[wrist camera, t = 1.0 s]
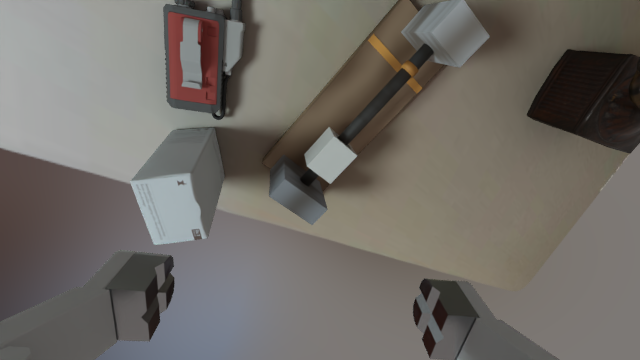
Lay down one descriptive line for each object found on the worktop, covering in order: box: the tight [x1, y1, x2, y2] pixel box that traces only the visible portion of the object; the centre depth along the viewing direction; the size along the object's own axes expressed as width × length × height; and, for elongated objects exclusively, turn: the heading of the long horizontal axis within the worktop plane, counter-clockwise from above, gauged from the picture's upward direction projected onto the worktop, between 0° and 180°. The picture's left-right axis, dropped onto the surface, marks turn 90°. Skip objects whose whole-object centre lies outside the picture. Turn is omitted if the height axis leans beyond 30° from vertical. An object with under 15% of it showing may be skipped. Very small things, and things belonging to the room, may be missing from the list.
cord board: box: [262, 0, 490, 225], centre depth 38 cm, size 10×29×10 cm, turn 138°
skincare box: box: [130, 128, 225, 245], centre depth 37 cm, size 8×6×15 cm
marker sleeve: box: [304, 127, 357, 184], centre depth 39 cm, size 4×5×4 cm
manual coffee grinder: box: [527, 49, 640, 153], centre depth 37 cm, size 16×11×18 cm
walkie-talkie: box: [163, 0, 246, 120], centre depth 35 cm, size 9×4×20 cm
